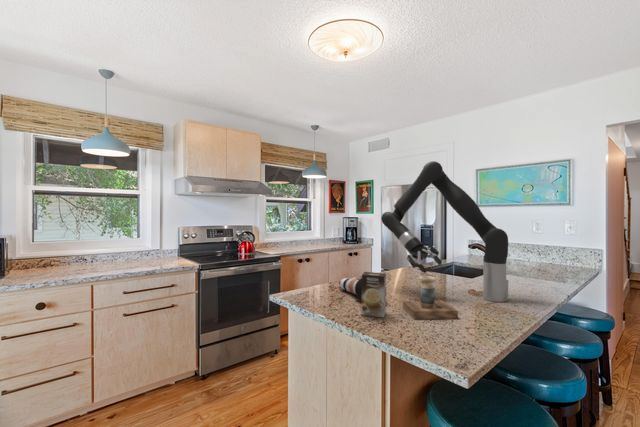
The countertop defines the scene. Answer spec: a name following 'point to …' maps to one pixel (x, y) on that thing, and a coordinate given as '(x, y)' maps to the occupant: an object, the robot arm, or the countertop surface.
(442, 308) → the notched board
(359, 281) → the black white tapered cylinder
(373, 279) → the coffee box
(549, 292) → the countertop surface
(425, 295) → the cord spool
